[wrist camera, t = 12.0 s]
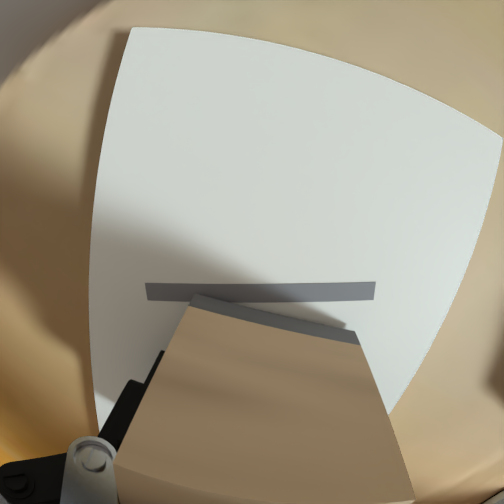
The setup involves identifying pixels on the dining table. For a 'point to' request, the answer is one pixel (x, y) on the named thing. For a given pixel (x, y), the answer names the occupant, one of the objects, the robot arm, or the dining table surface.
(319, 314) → the board
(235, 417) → the block
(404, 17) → the dining table surface
